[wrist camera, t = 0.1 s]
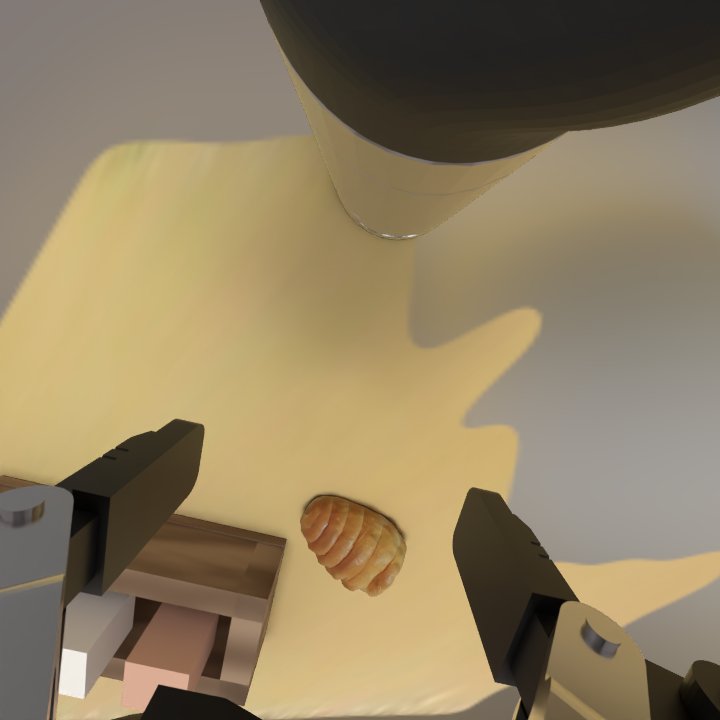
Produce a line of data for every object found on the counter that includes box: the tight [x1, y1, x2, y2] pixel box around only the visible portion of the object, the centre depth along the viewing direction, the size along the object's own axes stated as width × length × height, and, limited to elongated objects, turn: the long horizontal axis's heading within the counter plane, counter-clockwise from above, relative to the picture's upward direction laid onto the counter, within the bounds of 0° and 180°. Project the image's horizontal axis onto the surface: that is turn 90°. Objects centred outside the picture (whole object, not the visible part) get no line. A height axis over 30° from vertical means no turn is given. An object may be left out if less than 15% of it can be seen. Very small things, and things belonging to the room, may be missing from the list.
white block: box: [58, 590, 136, 699], centre depth 26 cm, size 4×4×5 cm
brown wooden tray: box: [0, 476, 287, 706], centre depth 29 cm, size 12×26×6 cm, turn 76°
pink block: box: [121, 602, 219, 711], centre depth 26 cm, size 4×4×5 cm
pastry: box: [300, 496, 406, 597], centre depth 29 cm, size 9×7×4 cm
